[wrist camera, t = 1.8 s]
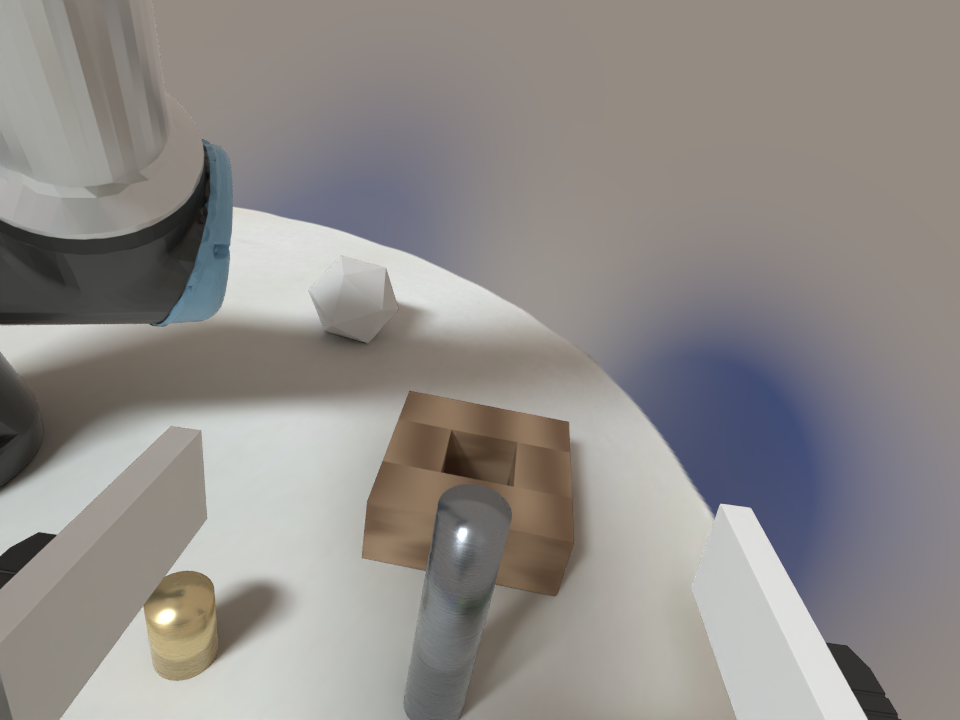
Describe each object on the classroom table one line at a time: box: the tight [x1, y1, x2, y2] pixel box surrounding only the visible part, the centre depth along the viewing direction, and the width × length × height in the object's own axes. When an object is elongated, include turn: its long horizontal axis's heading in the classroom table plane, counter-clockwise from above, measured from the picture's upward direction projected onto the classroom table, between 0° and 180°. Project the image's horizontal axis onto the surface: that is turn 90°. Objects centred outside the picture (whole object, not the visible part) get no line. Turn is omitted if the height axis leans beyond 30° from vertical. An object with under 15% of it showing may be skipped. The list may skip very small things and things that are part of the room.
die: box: [308, 256, 399, 344], centre depth 65 cm, size 8×9×10 cm
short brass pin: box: [144, 571, 218, 681], centre depth 32 cm, size 3×3×4 cm
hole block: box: [362, 391, 574, 596], centre depth 45 cm, size 13×13×5 cm
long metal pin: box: [404, 484, 512, 720], centre depth 30 cm, size 3×3×14 cm
